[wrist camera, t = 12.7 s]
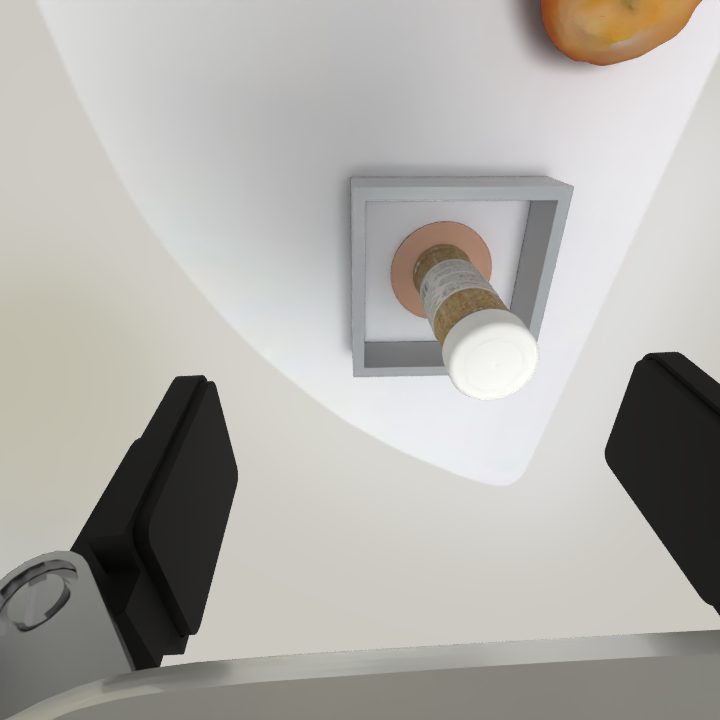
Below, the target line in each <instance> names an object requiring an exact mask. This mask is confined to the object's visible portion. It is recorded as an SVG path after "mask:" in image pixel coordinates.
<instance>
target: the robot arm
mask: <svg viewBox="0 0 720 720" xmlns="http://www.w3.org/2000/svg"><path fill="white" fill-rule="evenodd" d="M605 459H606V462H607V464H608V466H609V467H610V469H611V470H612V471H613V473H614V474H615V476H616V477H617V479H618V480H619V481H620V483H621V484H622V486H623V487H624V489H625V490H626V491H627V493H628V494H629V496H630V497H631V499H632V500H633V501H634V503H635V504H636V506H637V507H638V509H639V510H640V511H641V513H642V514H643V516H644V517H645V519H646V520H647V521H648V523H649V524H650V526H651V527H652V528H653V530H654V531H655V533H656V534H657V536H658V537H659V539H660V540H661V541H662V543H663V544H664V546H665V547H666V548H667V550H668V551H669V553H670V554H671V556H672V557H673V559H674V560H675V561H676V563H677V564H678V565H679V567H680V569H681V570H682V571H683V573H684V574H685V576H686V577H687V579H688V580H689V581H690V583H691V584H692V586H693V587H694V589H695V590H696V591H697V593H698V594H699V596H700V597H701V598H702V599H703V600H704V601H705V602H706V603H707V604H709V605H712V606H713V607H714V608H715V610H716V611H717V613H718V614H719V615H720V384H719V383H718V382H717V381H715V380H714V379H713V378H712V377H710V376H709V375H708V374H707V373H705V372H704V371H703V370H701V369H700V368H699V367H698V366H696V365H695V364H694V363H693V362H691V361H690V360H689V359H688V358H686V357H685V356H684V355H682V354H681V353H679V352H664V353H663V352H662V353H649V354H647V355H645V356H644V357H643V359H642V360H640V361H638V362H637V363H636V365H635V367H634V370H633V372H632V375H631V378H630V381H629V383H628V386H627V389H626V392H625V395H624V397H623V401H622V403H621V406H620V409H619V412H618V414H617V417H616V420H615V423H614V425H613V429H612V431H611V434H610V437H609V440H608V442H607V445H606V448H605ZM237 482H238V470H237V465H236V461H235V457H234V454H233V450H232V446H231V442H230V438H229V434H228V430H227V427H226V423H225V419H224V415H223V411H222V407H221V404H220V399H219V396H218V392H217V388H216V385H215V383H214V382H213V381H207V379H206V378H205V376H203V375H197V376H178V377H175V379H174V380H173V382H172V383H171V385H170V387H169V389H168V391H167V392H166V394H165V396H164V398H163V400H162V401H161V403H160V405H159V406H158V408H157V410H156V412H155V414H154V415H153V417H152V419H151V420H150V422H149V424H148V426H147V428H146V429H145V431H144V433H143V435H142V436H141V438H139V439H137V440H135V441H134V443H133V444H132V445H131V446H130V448H129V450H128V452H127V453H126V455H125V457H124V458H123V460H122V462H121V464H120V465H119V467H118V469H117V470H116V472H115V474H114V476H113V477H112V479H111V481H110V482H109V484H108V486H107V488H106V490H105V491H104V493H103V494H102V496H101V498H100V500H99V501H98V503H97V505H96V506H95V508H94V510H93V512H92V513H91V515H90V517H89V518H88V520H87V522H86V524H85V526H84V527H83V529H82V531H81V532H80V534H79V536H78V537H77V539H76V541H75V543H74V544H73V546H72V548H71V549H70V551H55V552H51V553H47V554H42V555H40V556H38V557H35V558H33V559H31V560H29V561H26V562H24V563H23V564H21V565H20V566H18V567H17V568H16V569H14V570H12V571H11V572H9V573H8V574H7V575H6V576H5V577H4V578H3V579H1V580H0V720H720V630H707V631H688V632H669V633H648V634H631V635H612V636H594V637H576V638H558V639H541V640H524V641H508V642H507V641H506V642H489V643H471V644H456V645H455V644H454V645H438V646H422V647H405V648H390V649H375V650H374V649H373V650H358V651H341V652H326V653H309V654H294V655H282V656H269V657H257V658H245V659H232V660H219V661H207V662H196V663H188V664H181V665H173V666H165V667H160V665H161V661H162V658H163V655H178V654H184V652H185V648H186V644H187V641H188V637H189V635H195V634H196V633H197V632H198V630H199V627H200V624H201V621H202V617H203V613H204V609H205V605H206V601H207V598H208V593H209V590H210V586H211V582H212V579H213V575H214V571H215V567H216V563H217V559H218V555H219V551H220V548H221V544H222V540H223V536H224V532H225V529H226V525H227V521H228V517H229V513H230V509H231V506H232V502H233V498H234V494H235V490H236V487H237Z"/></svg>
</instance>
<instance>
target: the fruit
mask: <svg viewBox="0 0 720 720" xmlns="http://www.w3.org/2000/svg"><path fill="white" fill-rule="evenodd" d="M701 1H702V0H540V3H541V11H542V18H543V24H544V27H545V30H546V33H547V35H548V36H549V38H550V39H551V40H552V41H553V43H554V44H555V45H556V47H557V49H558V50H560V51H562V52H563V53H564V54H566V55H567V56H568V57H569V58H571V59H572V60H574V61H583V62H588V63H591V64H595V65H599V66H605V65H611V64H615V63H619V62H623V61H627V60H630V59H634V58H637V57H640V56H642V55H644V54H646V53H647V52H649V51H651V50H653V49H654V48H656V47H657V46H659V45H661V44H663V43H665V42H667V41H668V40H670V39H672V38H673V37H675V36H676V35H677V34H678V33H679V32H680V31H681V30H682V29H683V28H684V27H685V26H686V24H687V23H688V21H689V19H690V17H691V15H692V13H693V11H694V10H695V8H696V7H697V6H698V5H699V3H700V2H701Z"/></svg>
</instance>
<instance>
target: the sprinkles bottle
mask: <svg viewBox="0 0 720 720" xmlns="http://www.w3.org/2000/svg"><path fill="white" fill-rule="evenodd" d="M413 282H414V285H415V288H416V290H417V291H418V293H419V294H420V298H421V302H422V304H423V307H424V310H425V312H426V315H427V317H428V320H429V323H430V325H431V327H432V330H433V332H434V335H435V337H436V339H437V340H438V342H439V344H440V346H441V348H442V357H443V362H444V365H445V368H446V370H447V372H448V374H449V376H450V379H451V381H452V383H453V384H454V386H455V387H456V388H457V389H458V390H459V391H460V392H462V393H463V394H465V395H467V396H469V397H471V398H474V399H479V400H494V399H500V398H503V397H506V396H508V395H510V394H512V393H514V392H516V391H518V390H519V389H520V388H522V387H523V386H524V385H525V384H526V383H527V382H528V381H529V380H530V379H531V377H532V376H533V374H534V372H535V370H536V368H537V365H538V361H539V348H538V344H537V342H536V340H535V338H534V336H533V335H532V333H531V332H530V331H529V329H528V328H527V327H526V326H525V324H524V323H523V322H522V321H521V320H520V319H519V318H518V317H517V316H516V315H514V314H512V313H510V312H509V310H508V309H507V308H506V306H505V305H504V304H503V302H502V300H501V299H500V298H499V296H498V294H497V293H496V292H495V290H494V289H493V288H492V286H491V285H490V284H489V282H488V281H487V280H486V279H485V277H484V276H483V275H482V274H481V272H480V271H479V270H478V269H477V268H476V267H475V266H474V265H473V264H472V262H471V260H470V258H469V257H468V255H467V254H466V253H465V252H464V251H463V250H461V249H459V248H458V247H456V246H451V245H439V246H435V247H432V248H430V249H429V250H427V251H426V252H425V253H424V254H423V255H421V257H420V258H419V259H418V261H417V262H416V264H415V268H414V271H413Z"/></svg>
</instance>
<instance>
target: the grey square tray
mask: <svg viewBox="0 0 720 720" xmlns="http://www.w3.org/2000/svg"><path fill="white" fill-rule="evenodd" d="M573 189H574V186H572V185H569V184H566V183H564V182H561V181H558V180H555V179H553V178H550V177H351V265H352V358H353V377H385V376H433V375H449V374H448V372H447V370H446V368H445V365H444V362H443V357H442V348H441V346H440V344H439V342H438V341H423V342H367V343H364V324H365V210H366V201H504V200H531V206H530V211H529V216H528V221H527V226H526V231H525V236H524V242H523V247H522V252H521V257H520V262H519V267H518V272H517V278H516V283H515V288H514V293H513V298H512V303H511V308H510V313H512V314H514V315H516V316H517V317H518V318H519V319H520V320H521V321H522V322H523V323H524V324H525V326H526V327H527V328H528V329H529V331H530V332H531V333H532V335H533V336H534V338H535V340H536V342H537V340H538V336H539V332H540V328H541V324H542V320H543V315H544V311H545V307H546V303H547V299H548V294H549V290H550V286H551V282H552V278H553V273H554V269H555V265H556V261H557V257H558V252H559V248H560V244H561V240H562V236H563V231H564V227H565V223H566V219H567V215H568V210H569V206H570V202H571V198H572V194H573ZM439 245H451V246H456V247H458V248H459V249H461V250H463V251H464V252H465V253H466V254H467V255H468V257H469V258H470V260H471V262H472V264H473V265H474V266H475V267H476V268H477V269H478V270H479V271H480V272H481V274H482V275H483V276H484V277H485V279H486V280H487V281H488V282H489V280H490V276H491V269H492V264H491V256H490V253H489V250H488V247H487V245H486V244H485V242H484V241H483V239H482V238H481V237H480V236H479V235H478V234H477V233H476V232H475V231H473V230H472V229H471V228H469V227H467V226H465V225H462V224H459V223H455V222H437V223H432V224H429V225H426V226H424V227H422V228H420V229H418V230H416V231H415V232H413V233H412V234H411V235H410V236H409V237H407V238H406V240H405V241H404V242H403V243H402V244H401V246H400V247H399V249H398V250H397V252H396V254H395V257H394V259H393V263H392V268H391V281H392V286H393V290H394V293H395V295H396V297H397V299H398V300H399V302H400V303H401V304H402V305H403V306H404V307H405V308H406V309H407V310H408V311H410V312H411V313H413V314H415V315H417V316H419V317H422V318H426V319H428V317H427V315H426V312H425V310H424V307H423V304H422V302H421V298H420V294H419V293H418V291H417V290H416V288H415V285H414V282H413V271H414V268H415V264H416V262H417V261H418V259H419V258H420V257H421V255H423V254H424V253H425V252H426V251H427V250H429V249H430V248H432V247H435V246H439Z"/></svg>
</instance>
